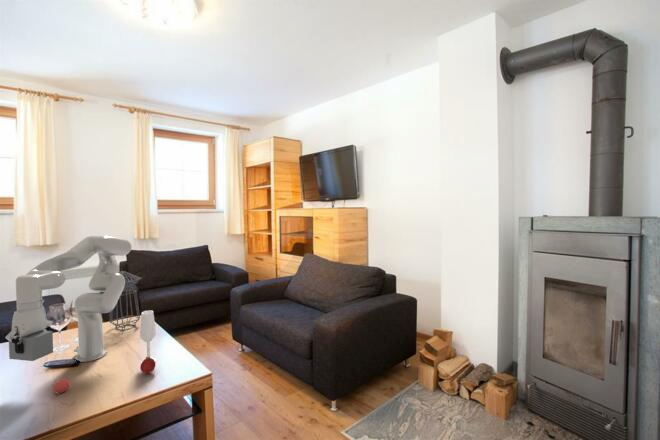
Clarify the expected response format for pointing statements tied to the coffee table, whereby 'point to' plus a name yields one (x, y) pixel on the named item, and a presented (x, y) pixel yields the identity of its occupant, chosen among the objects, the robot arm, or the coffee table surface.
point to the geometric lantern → (127, 302)
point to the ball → (61, 386)
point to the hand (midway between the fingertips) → (31, 348)
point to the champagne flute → (147, 329)
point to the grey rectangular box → (33, 346)
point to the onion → (147, 365)
